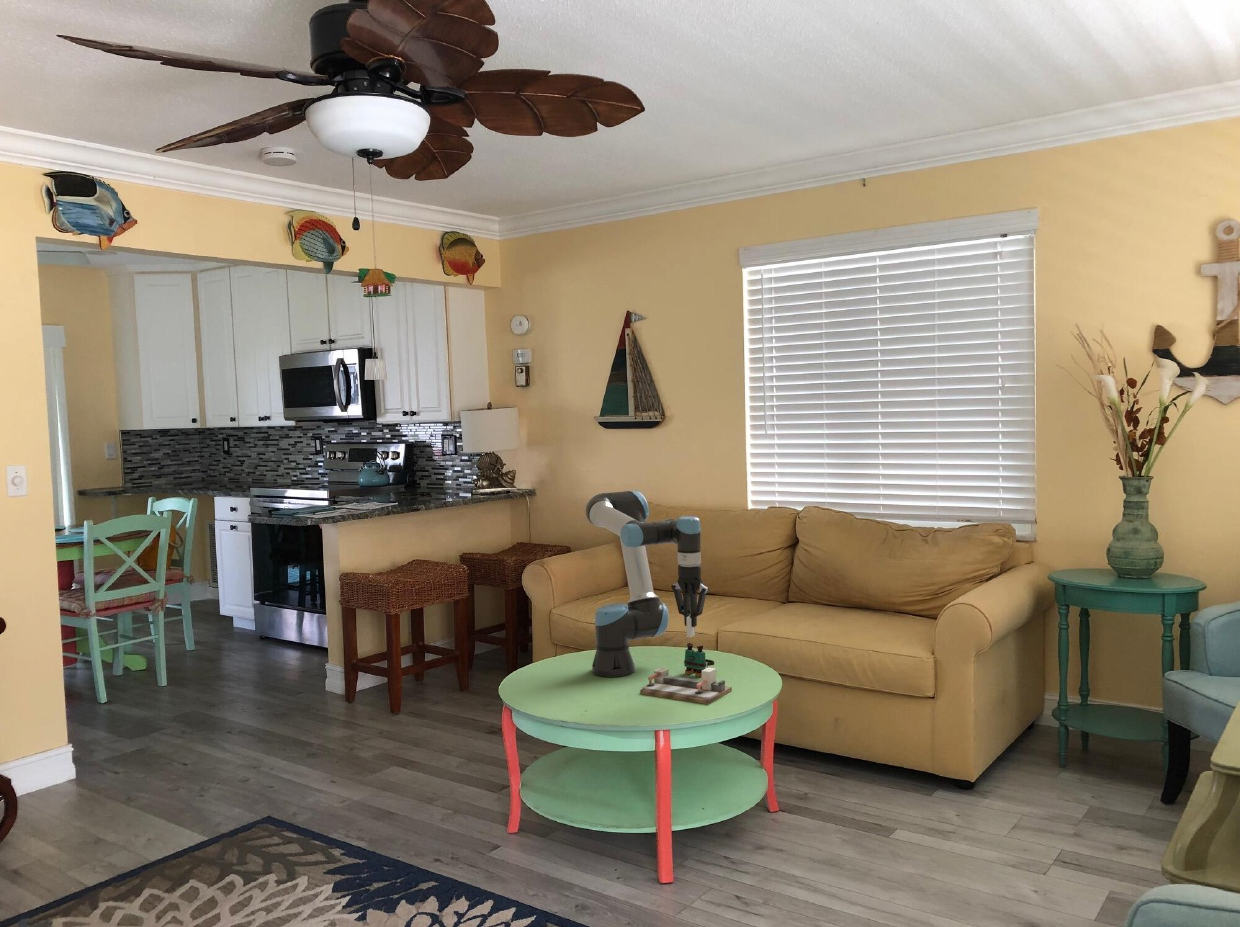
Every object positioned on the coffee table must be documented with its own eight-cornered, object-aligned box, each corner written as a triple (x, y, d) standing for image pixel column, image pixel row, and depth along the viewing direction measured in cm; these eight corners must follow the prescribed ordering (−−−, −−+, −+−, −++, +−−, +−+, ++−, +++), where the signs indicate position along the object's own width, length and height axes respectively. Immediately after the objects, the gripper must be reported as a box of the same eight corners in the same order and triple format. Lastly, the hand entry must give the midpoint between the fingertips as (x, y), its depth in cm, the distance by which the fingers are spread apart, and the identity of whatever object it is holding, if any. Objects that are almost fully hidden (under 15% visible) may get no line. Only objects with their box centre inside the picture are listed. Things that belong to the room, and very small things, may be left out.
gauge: (640, 693, 306) (639, 677, 305) (665, 680, 319) (664, 665, 319) (708, 704, 292) (708, 687, 292) (731, 690, 305) (731, 674, 305)
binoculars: (718, 643, 328) (700, 646, 321) (717, 674, 328) (699, 677, 321) (698, 640, 334) (680, 643, 327) (697, 670, 334) (679, 673, 327)
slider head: (694, 693, 298) (693, 674, 298) (708, 685, 307) (707, 667, 306) (702, 695, 297) (701, 676, 296) (716, 686, 305) (716, 668, 305)
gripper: (666, 565, 306) (667, 636, 307) (701, 568, 298) (703, 641, 300) (677, 561, 312) (679, 631, 314) (712, 564, 305) (714, 635, 306)
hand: (690, 636), depth 307 cm, fingers closed
